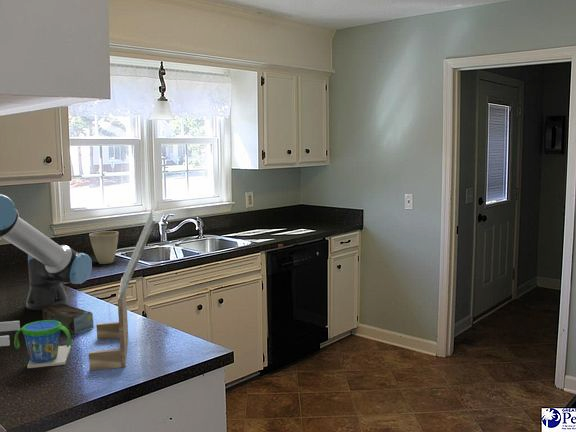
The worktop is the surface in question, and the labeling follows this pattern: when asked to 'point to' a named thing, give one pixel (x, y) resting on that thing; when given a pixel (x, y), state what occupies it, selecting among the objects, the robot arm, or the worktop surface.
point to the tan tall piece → (120, 312)
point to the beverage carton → (69, 317)
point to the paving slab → (59, 360)
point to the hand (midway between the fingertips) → (14, 332)
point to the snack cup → (42, 339)
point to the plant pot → (104, 245)
